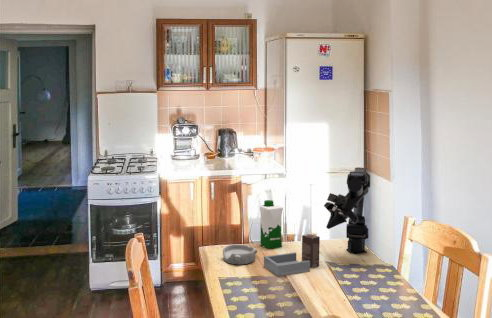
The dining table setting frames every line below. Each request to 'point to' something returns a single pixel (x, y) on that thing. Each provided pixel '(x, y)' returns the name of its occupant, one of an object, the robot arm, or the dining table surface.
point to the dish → (239, 254)
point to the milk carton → (271, 225)
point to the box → (310, 249)
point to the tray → (285, 264)
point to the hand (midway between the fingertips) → (327, 228)
